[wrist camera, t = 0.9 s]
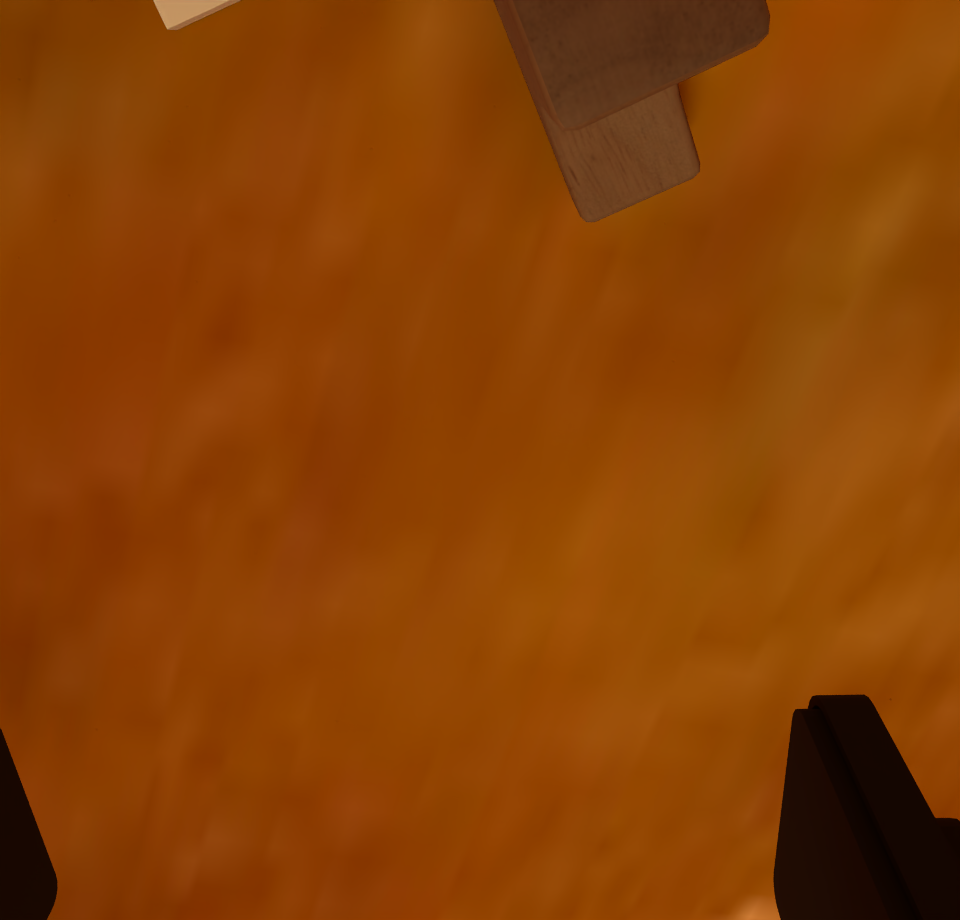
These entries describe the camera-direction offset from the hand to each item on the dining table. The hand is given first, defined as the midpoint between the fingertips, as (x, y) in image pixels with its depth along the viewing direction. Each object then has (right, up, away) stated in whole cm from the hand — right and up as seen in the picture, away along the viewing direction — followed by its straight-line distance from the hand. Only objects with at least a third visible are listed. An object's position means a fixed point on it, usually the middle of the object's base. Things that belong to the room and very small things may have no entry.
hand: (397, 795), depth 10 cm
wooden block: (+5, +19, +23) cm, 30 cm away
